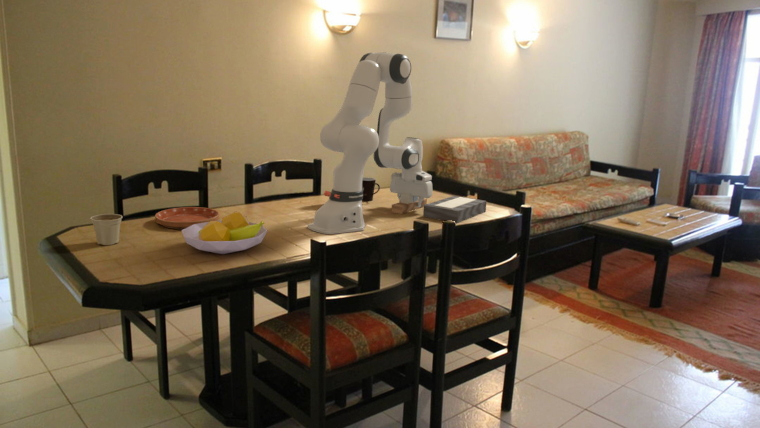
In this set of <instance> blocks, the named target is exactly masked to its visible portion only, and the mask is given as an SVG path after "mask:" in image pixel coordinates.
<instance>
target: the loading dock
mask: <svg viewBox="0 0 760 428" xmlns="http://www.w3.org/2000/svg"><path fill="white" fill-rule="evenodd" d="M422 212H423V214H422V216H424V217H423V218H427V217H428V219H433V218H434V219H433V220H438V219H440V220H439V221H443V220H452V221H455V222H456V224H459V223H461V222H464V221H466V220H468V219H472V218H473V217H476V216H479V215H481V214H484V213H486V212H487V200H482V199H476V198H470V197H465V196H458V195H452V196H449V197H445V198H443V199H439V200H437V201H433V202H429V203H427V204H426V205H424V207H423V211H422Z"/></svg>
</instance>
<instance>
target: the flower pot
mask: <svg viewBox="0 0 760 428" xmlns="http://www.w3.org/2000/svg"><path fill="white" fill-rule="evenodd" d="M122 219H123V215H122V214H117V213H104V214H97V215H92V216H91V217H90V219H89V220H90V221H91V222H92V224H93V229H94V232H95V233H94V234H95V237H96V243H97V245H103V246H111V245H115V244H117V243H119V241H120V231H121V230H120V229H121V223H122Z"/></svg>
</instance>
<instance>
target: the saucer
mask: <svg viewBox="0 0 760 428" xmlns="http://www.w3.org/2000/svg"><path fill="white" fill-rule="evenodd" d="M219 219H220V212H219V211H218V210H216V209H214V208H208V207H203V206H202V207H199V206H198V207H197V206H187V207H186V206H182V207H173V208H168V209H167V208H166V209H163V210H161V211H158V212H156V213H155V215H154V220H155V222H156V223H157V224H159V225H161V226H163V227H165V228H169V229H176V230H183V229H186V228H188V227H190V226H192V225H194V224H199V223H206V222H210V221H219Z"/></svg>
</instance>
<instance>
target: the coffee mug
mask: <svg viewBox="0 0 760 428" xmlns="http://www.w3.org/2000/svg"><path fill="white" fill-rule="evenodd" d="M376 185H377V187H378V188H377V190H376V191H375V188H376V187H375V186H376ZM380 189H381V187H380V185H379V183H377V182H376V178H375V177H368V176H367V177H364V176H363V180H362V190H363V199H362V202H372V201H373V199H374V195H376V194H378V192H380Z"/></svg>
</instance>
